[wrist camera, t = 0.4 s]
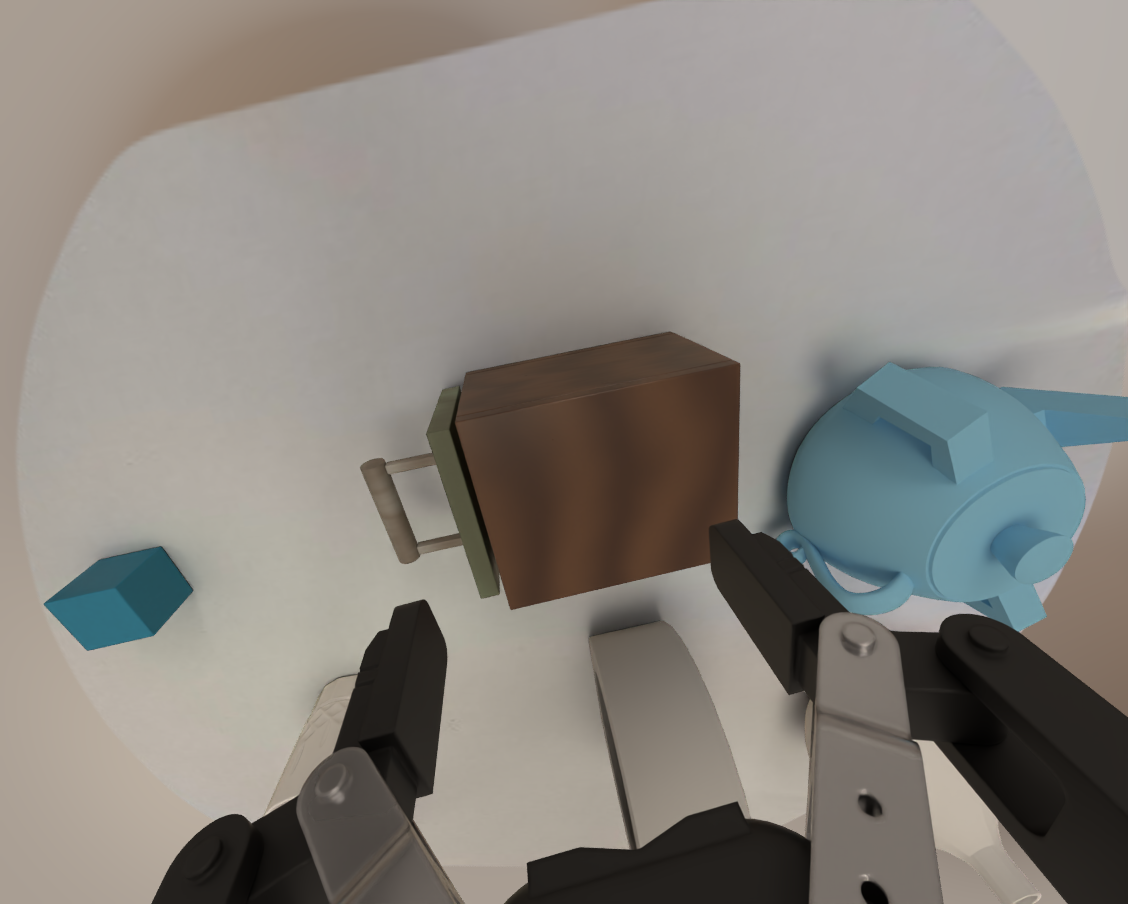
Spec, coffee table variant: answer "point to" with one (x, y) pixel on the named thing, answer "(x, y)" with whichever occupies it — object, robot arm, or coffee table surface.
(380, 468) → the drawer
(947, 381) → the teapot
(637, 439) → the cabinet
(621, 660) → the alarm clock
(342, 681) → the white cup
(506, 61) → the coffee table surface
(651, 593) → the coffee table surface
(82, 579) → the blue block
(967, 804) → the vase
